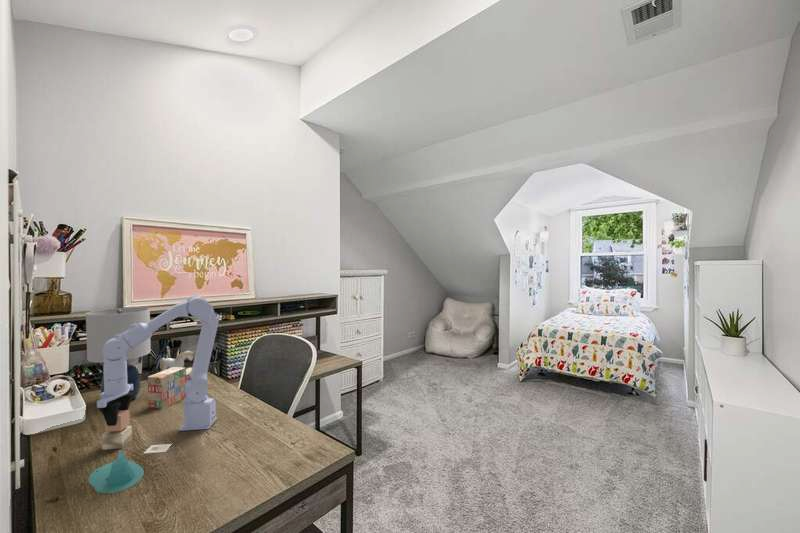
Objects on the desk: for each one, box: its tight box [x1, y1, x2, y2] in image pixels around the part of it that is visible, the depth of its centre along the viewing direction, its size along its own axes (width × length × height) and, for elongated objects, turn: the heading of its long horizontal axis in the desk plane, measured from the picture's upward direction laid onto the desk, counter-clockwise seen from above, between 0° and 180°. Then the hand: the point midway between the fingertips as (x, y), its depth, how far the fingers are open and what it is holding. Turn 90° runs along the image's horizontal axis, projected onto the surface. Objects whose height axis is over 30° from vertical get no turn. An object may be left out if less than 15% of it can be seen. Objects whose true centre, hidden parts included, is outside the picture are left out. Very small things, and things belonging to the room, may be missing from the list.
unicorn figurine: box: [159, 349, 196, 372], centre depth 175 cm, size 7×20×13 cm, turn 91°
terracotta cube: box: [104, 409, 131, 433], centre depth 114 cm, size 4×4×4 cm
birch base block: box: [101, 425, 133, 450], centre depth 114 cm, size 6×6×4 cm
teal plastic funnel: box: [87, 449, 145, 494], centre depth 98 cm, size 12×20×9 cm, turn 51°
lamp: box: [85, 306, 152, 400], centre depth 149 cm, size 20×20×37 cm
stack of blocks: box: [147, 366, 192, 409], centre depth 152 cm, size 21×6×12 cm, turn 169°
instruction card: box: [142, 443, 173, 455], centre depth 111 cm, size 6×4×1 cm
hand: (117, 421), depth 114 cm, fingers closed on terracotta cube, 4 cm apart
